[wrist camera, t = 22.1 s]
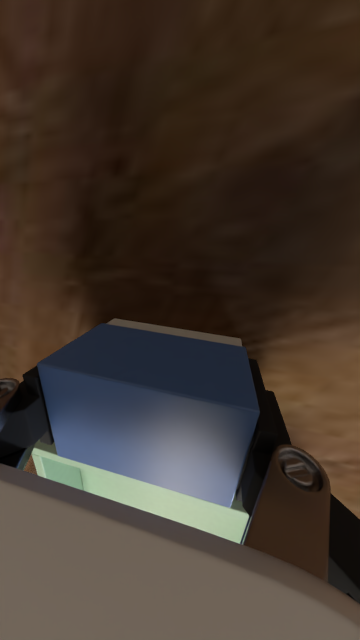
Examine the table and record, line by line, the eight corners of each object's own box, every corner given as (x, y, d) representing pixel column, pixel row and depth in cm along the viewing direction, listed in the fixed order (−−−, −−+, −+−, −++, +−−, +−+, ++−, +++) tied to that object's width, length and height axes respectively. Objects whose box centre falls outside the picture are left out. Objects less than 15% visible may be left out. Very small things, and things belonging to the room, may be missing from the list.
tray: (69, 404, 13) (28, 446, 11) (287, 459, 11) (309, 532, 8) (95, 561, 22) (76, 607, 19) (222, 611, 20) (221, 673, 17)
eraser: (112, 315, 10) (35, 363, 6) (243, 336, 9) (261, 412, 5) (115, 382, 12) (56, 456, 8) (227, 407, 11) (230, 509, 7)
